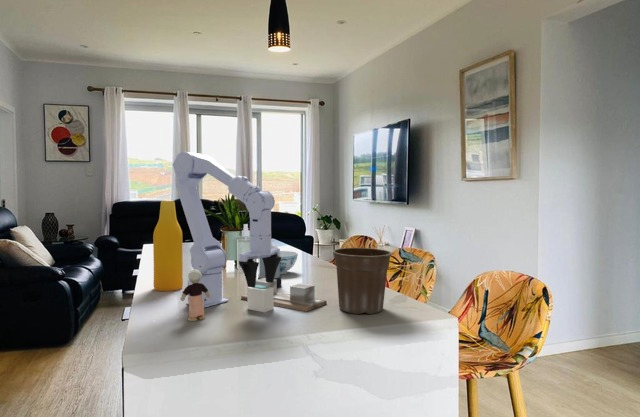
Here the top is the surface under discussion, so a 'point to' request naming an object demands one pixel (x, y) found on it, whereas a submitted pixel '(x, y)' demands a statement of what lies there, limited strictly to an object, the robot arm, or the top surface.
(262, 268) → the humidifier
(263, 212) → the robot arm
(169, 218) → the beer bottle
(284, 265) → the chinaware
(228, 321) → the top surface
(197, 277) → the grandmother figurine
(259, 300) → the block
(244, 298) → the board
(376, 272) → the plant pot
